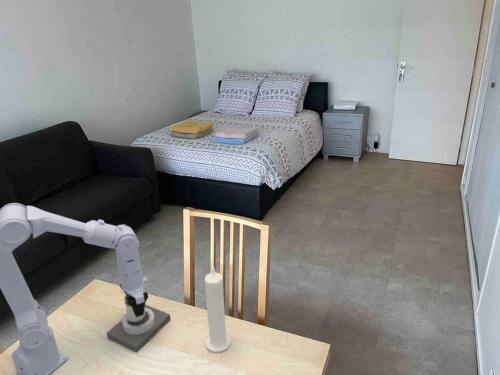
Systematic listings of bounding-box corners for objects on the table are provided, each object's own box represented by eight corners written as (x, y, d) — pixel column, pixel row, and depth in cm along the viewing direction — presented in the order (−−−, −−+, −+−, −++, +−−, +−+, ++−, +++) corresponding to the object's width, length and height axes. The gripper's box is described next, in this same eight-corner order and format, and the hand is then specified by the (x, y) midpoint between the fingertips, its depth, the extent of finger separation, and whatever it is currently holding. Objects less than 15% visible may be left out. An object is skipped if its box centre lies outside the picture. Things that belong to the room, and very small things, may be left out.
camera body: (136, 352, 102) (134, 341, 101) (107, 338, 107) (105, 327, 105) (170, 319, 113) (169, 309, 112) (142, 308, 118) (141, 297, 117)
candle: (227, 354, 101) (222, 276, 91) (201, 351, 102) (194, 273, 92) (233, 335, 107) (230, 260, 97) (209, 331, 109) (203, 257, 99)
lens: (147, 318, 107) (144, 297, 104) (129, 324, 105) (126, 303, 102) (142, 307, 111) (140, 287, 109) (125, 313, 109) (122, 292, 106)
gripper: (153, 278, 98) (159, 319, 104) (137, 252, 110) (143, 290, 115) (125, 287, 95) (133, 329, 100) (112, 259, 106) (119, 299, 112)
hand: (136, 309), depth 107 cm, fingers closed on lens, 5 cm apart
